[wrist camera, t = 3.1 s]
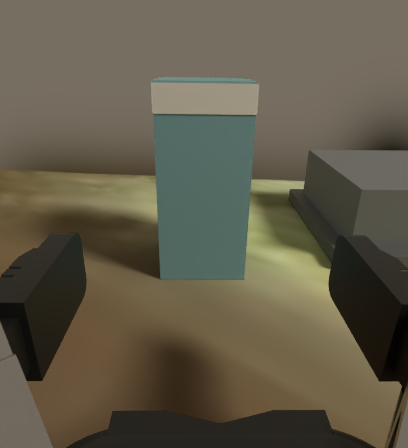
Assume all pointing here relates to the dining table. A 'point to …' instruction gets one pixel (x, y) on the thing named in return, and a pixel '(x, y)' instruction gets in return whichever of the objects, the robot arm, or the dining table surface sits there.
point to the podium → (356, 198)
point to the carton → (203, 174)
